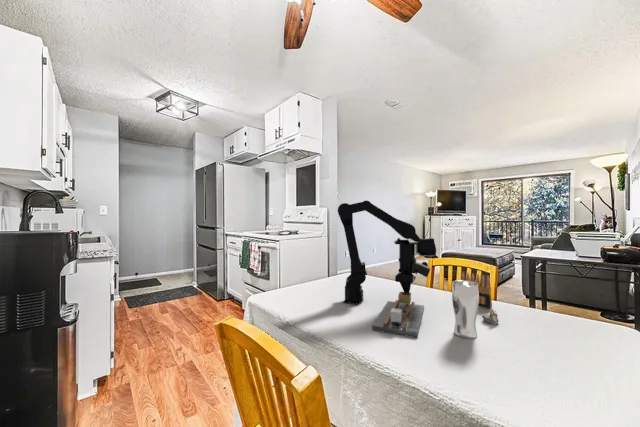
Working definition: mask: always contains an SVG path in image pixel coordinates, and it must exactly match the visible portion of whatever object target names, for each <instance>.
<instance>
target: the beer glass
mask: <svg viewBox="0 0 640 427" xmlns="http://www.w3.org/2000/svg"><path fill="white" fill-rule="evenodd" d="M451 287H452V288H451V301H452V307H453V312H454V321H455V322H454V328H453V333H454V335H455V336H458V337H459V338H463V339H471V340H472V339H476V338H477V337H478V332H477V326H476V323H477V322H476V321H477V315H478V311H479V306H478V305H479V292H478V284H477V283H476V281H475V282H472V281H471V280H470V281H466V279H465V280H461V279H458V280H452V286H451Z"/></svg>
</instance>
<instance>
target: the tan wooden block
mask: <svg viewBox="0 0 640 427" xmlns="http://www.w3.org/2000/svg"><path fill="white" fill-rule="evenodd" d="M397 295H398V298H397V300H398V303H406V304H411V303H412V292H404V291H399V293H398V294H397Z"/></svg>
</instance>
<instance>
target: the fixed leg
mask: <svg viewBox="0 0 640 427" xmlns="http://www.w3.org/2000/svg"><path fill="white" fill-rule="evenodd" d="M391 321H394V322H395V324H398V322H401V321H402V309H396V308H392V309H391Z"/></svg>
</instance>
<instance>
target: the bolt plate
mask: <svg viewBox="0 0 640 427" xmlns="http://www.w3.org/2000/svg"><path fill="white" fill-rule="evenodd" d="M392 308H396V309H402V321H401V322H398V324H395V322H394V321H391V309H392ZM424 311H425V305H423V304H422V305H421V304H416V302H415V301H411V302H410V304H406V303H398V299H396V300H395V301H387V302H386V304H385V305H384V307H383V308H382V309H381V311H380V312H379V314H378V316H377V317H376V318H375V321H374V322H373V324H372V326H371V328H372V329H371V330H372V331H375V332H381V333H387V334H393V335H399V336H403V337H404V336H405V337H410V338H417V339H418V338H419V334H420V329H421V325H422V322H423V321H422V320H423V315H424Z"/></svg>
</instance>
